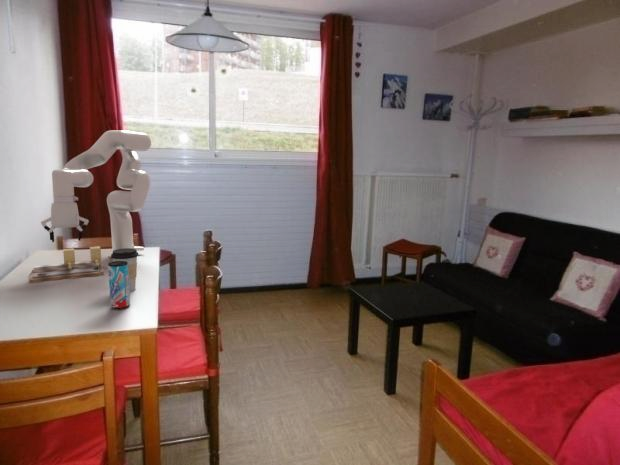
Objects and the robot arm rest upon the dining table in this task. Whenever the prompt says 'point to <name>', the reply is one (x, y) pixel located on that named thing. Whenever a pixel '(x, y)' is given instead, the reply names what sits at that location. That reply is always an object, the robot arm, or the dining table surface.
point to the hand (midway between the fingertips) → (66, 240)
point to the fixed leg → (95, 255)
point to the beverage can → (119, 284)
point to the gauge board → (65, 271)
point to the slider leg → (69, 257)
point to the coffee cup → (131, 258)
